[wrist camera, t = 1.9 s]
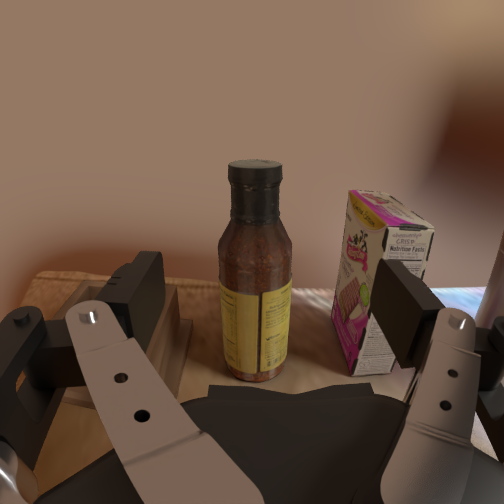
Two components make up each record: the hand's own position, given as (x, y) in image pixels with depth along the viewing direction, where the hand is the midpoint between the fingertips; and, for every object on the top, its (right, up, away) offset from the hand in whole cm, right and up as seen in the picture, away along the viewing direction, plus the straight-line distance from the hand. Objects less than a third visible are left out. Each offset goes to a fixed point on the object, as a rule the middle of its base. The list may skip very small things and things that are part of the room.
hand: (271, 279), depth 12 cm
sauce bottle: (-1, -11, +20) cm, 23 cm away
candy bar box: (+11, -10, +23) cm, 28 cm away
